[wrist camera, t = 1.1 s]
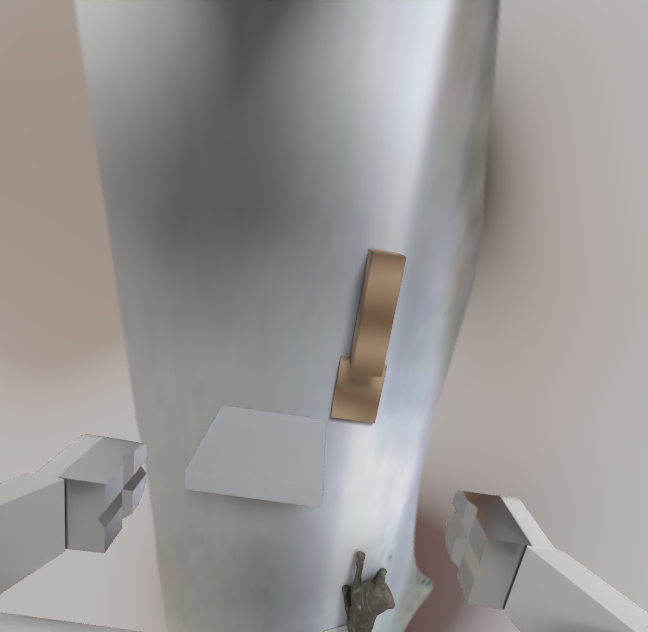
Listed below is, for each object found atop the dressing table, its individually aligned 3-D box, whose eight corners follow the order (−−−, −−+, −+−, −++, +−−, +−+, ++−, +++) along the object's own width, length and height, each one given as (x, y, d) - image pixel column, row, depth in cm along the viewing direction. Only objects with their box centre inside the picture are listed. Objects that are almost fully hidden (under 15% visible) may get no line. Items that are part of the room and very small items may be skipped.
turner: (359, 247, 36) (362, 250, 32) (407, 254, 36) (417, 258, 32) (331, 412, 41) (331, 432, 37) (373, 418, 41) (378, 439, 37)
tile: (222, 404, 41) (185, 470, 31) (325, 419, 41) (323, 489, 31) (221, 421, 42) (184, 490, 31) (322, 435, 42) (320, 509, 31)
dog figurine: (376, 615, 49) (384, 682, 42) (336, 608, 49) (337, 675, 42) (398, 548, 46) (411, 610, 39) (355, 541, 46) (360, 601, 39)
